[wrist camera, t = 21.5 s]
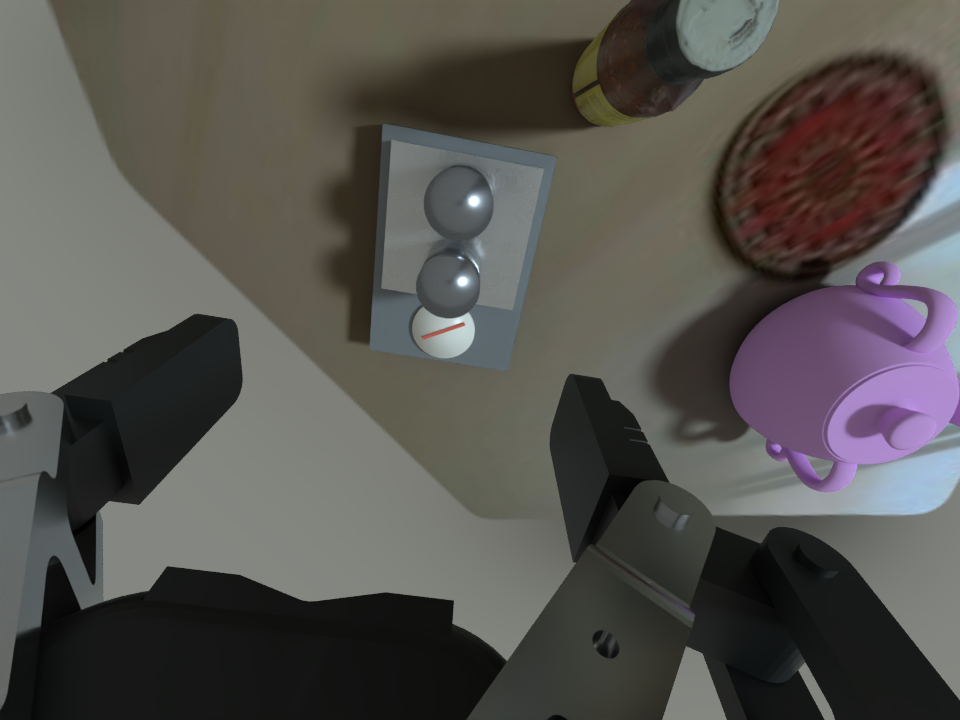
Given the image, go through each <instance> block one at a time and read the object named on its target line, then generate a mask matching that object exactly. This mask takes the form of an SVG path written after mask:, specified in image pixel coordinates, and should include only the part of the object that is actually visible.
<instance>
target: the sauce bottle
mask: <svg viewBox="0 0 960 720" xmlns="http://www.w3.org/2000/svg"><path fill="white" fill-rule="evenodd" d="M778 3H779V0H631V1H630V3H629V4H627V5H626V6H625V7H624V8H622V9H621V10H620V11H619V12H618V13H617V14H616V16H615V17H614V18H613V19H612V20H611V21H610V22H609V24H608V25H607V26H606V27H605V28H604V29H603V30H602V31H601V32H600V33H599V34H598V36H597V37H596V38H595V39H594V40H593V41H592V42H591V43H590V45H589V46H588V47H587V48H586V49H585V51H584V52H583V54H582V55H581V57H580V59H579V61H578V63H577V65H576V67H575V72H574V77H573V87H572V91H573V101H574V104H575V106H576V108H577V110H578V111H579V112H580V114H581V115H582V116H583V117H584V118H586V119H587V120H588V121H589V122H590V123H592V124H594V125H600V126H605V127H613V126H618V125H622V124H627V123H632V122H636V121H641V120H645V119H649V118H652V117H656V116H659V115H662V114H664V113H666V112H669V111H673V110H675V109H676V108H677V107H678V106H679V105H680V104H681V103H683V102H684V101H685V100H686V99H687V98H688V97H689V96H690V95H691V94H692V93H693V92H694V91H695V90H696V89H697V88H698V87H699V85H700V84H701V83H702V81H703V80H704V79H707V78H711V77H715V76H718V75H720V74H722V73H725V72H727V71H729V70H732V69H733V68H735V67H737V66H739V65H741V64H742V63H744V62H745V61H746V60H748V59H749V58H751V57H752V55H753V54H754V53H755V52H756V51H757V50H758V48H759V47H760V46H761V44H762V43H763V41H764V40H765V38H766V37H767V35H768V33H769V32H770V30H771V27H772V25H773V22H774V20H775V17H776V14H777V10H778Z"/></svg>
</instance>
